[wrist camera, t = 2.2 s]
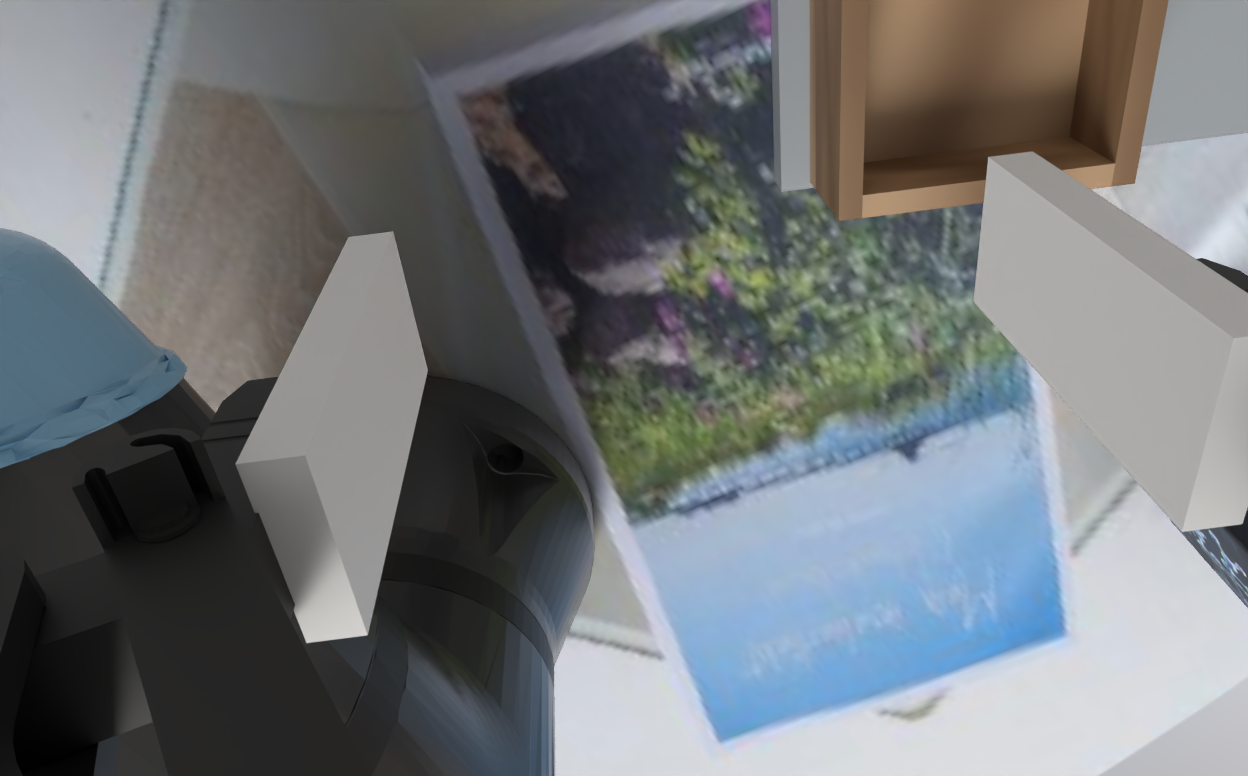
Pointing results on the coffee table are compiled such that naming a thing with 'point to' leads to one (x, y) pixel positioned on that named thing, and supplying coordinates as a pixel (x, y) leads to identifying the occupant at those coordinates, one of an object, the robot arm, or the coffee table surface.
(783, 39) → the board
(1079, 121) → the wooden tray
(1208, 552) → the box
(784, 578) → the coffee table surface
